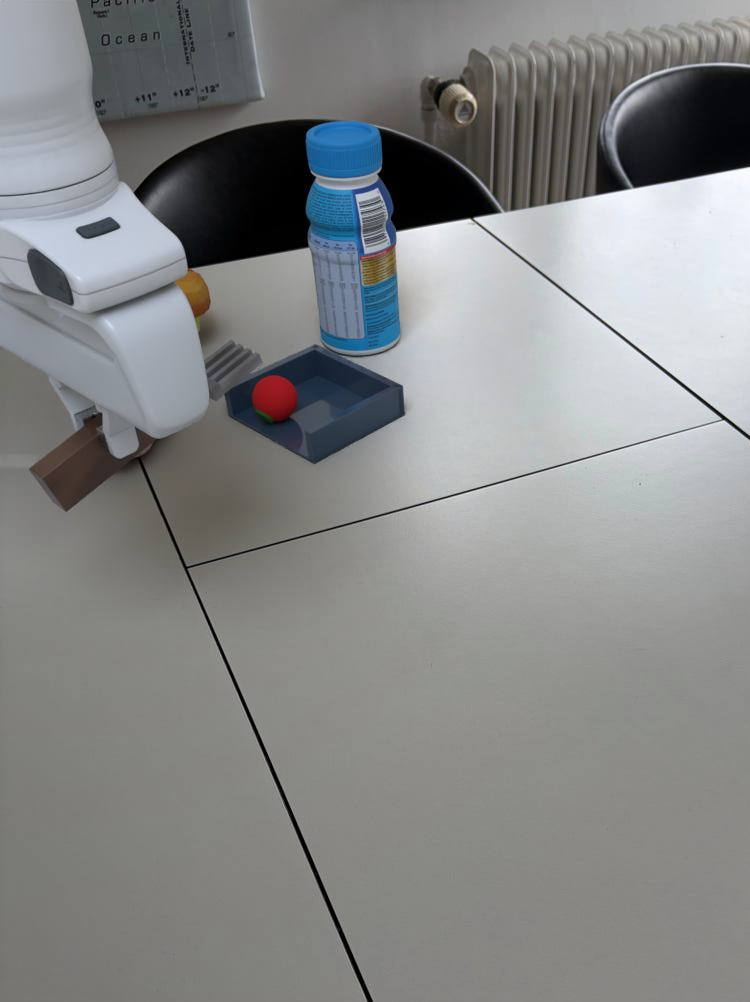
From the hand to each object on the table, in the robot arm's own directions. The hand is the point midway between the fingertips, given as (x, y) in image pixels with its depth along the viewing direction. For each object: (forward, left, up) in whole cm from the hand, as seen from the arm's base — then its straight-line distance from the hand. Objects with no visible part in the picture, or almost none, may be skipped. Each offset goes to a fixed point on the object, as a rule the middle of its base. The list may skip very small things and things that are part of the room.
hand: (108, 442), depth 66 cm
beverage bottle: (-20, +39, -14) cm, 46 cm away
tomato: (-14, +23, -12) cm, 29 cm away
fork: (0, +4, 0) cm, 4 cm away
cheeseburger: (-35, +25, -14) cm, 46 cm away
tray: (-12, +26, -14) cm, 32 cm away
